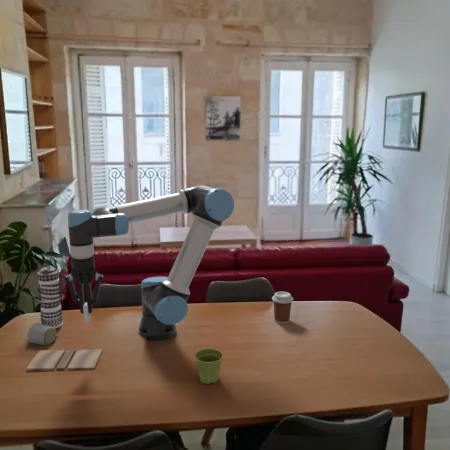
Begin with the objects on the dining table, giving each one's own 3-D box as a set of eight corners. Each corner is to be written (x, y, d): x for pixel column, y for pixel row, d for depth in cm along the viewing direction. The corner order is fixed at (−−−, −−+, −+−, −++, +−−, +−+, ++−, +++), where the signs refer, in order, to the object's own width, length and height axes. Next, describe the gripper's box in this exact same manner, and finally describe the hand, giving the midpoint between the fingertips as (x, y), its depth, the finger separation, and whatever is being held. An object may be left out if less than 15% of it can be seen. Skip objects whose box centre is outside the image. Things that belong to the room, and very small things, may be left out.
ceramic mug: (45, 349, 169) (44, 330, 167) (27, 346, 171) (26, 327, 170) (63, 338, 179) (62, 319, 177) (46, 335, 181) (44, 317, 180)
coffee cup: (267, 321, 194) (268, 295, 192) (276, 314, 202) (277, 289, 199) (287, 326, 189) (288, 299, 187) (295, 319, 197) (296, 293, 195)
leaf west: (102, 352, 166) (102, 349, 165) (94, 371, 153) (94, 367, 153) (77, 353, 165) (77, 349, 165) (67, 371, 152) (67, 367, 152)
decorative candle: (68, 323, 192) (64, 267, 187) (49, 331, 184) (45, 272, 179) (54, 318, 197) (50, 263, 192) (36, 326, 189) (31, 269, 184)
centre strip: (75, 353, 165) (74, 349, 165) (65, 372, 152) (64, 367, 152) (67, 353, 165) (67, 350, 164) (56, 372, 152) (56, 368, 152)
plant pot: (213, 390, 142) (213, 365, 140) (189, 381, 147) (188, 357, 145) (228, 377, 150) (228, 353, 148) (205, 369, 155) (205, 346, 153)
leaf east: (64, 353, 165) (64, 350, 164) (53, 372, 152) (53, 368, 152) (39, 353, 164) (39, 350, 164) (26, 372, 151) (26, 368, 151)
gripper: (104, 252, 155) (108, 316, 160) (66, 253, 155) (71, 317, 159) (99, 258, 148) (104, 325, 153) (59, 259, 147) (65, 326, 152)
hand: (87, 321), depth 156 cm, fingers closed
